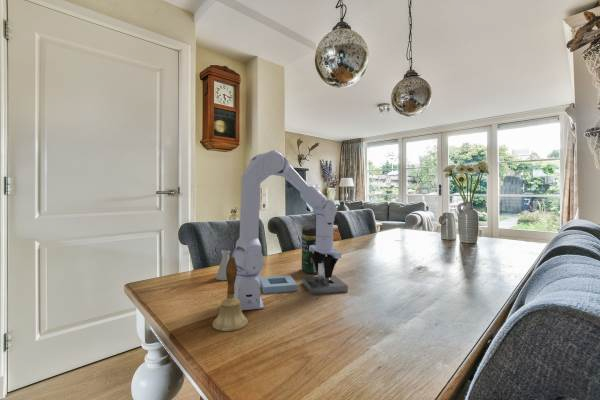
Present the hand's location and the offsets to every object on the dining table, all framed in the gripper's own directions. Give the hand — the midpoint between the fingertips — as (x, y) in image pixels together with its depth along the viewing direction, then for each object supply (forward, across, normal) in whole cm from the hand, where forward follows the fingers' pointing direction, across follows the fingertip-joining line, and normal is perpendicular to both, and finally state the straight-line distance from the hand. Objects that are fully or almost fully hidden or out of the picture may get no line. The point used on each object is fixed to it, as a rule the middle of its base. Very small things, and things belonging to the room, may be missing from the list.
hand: (323, 275), depth 96 cm
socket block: (+4, 0, 0) cm, 4 cm away
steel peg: (+3, 0, 0) cm, 3 cm away
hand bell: (+4, -8, +36) cm, 37 cm away
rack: (+4, +9, +13) cm, 16 cm away
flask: (+4, +28, +24) cm, 37 cm away
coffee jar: (+4, +18, -9) cm, 21 cm away
